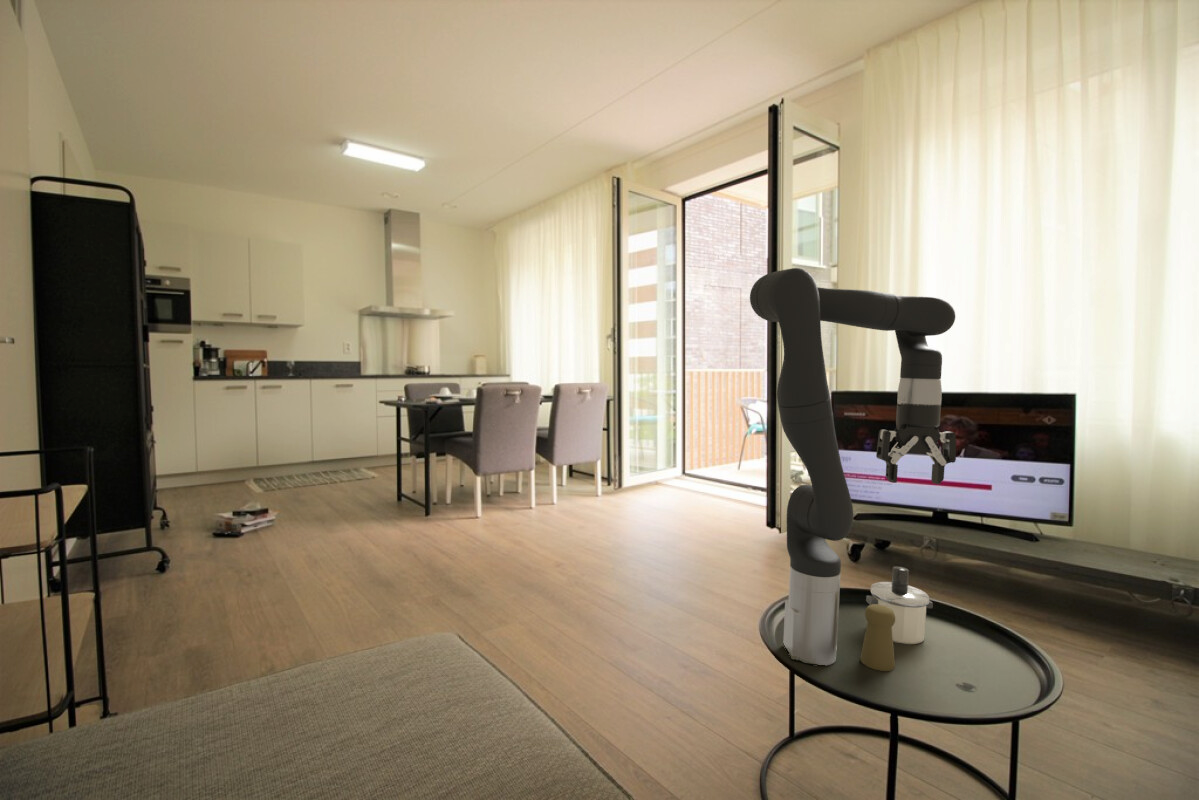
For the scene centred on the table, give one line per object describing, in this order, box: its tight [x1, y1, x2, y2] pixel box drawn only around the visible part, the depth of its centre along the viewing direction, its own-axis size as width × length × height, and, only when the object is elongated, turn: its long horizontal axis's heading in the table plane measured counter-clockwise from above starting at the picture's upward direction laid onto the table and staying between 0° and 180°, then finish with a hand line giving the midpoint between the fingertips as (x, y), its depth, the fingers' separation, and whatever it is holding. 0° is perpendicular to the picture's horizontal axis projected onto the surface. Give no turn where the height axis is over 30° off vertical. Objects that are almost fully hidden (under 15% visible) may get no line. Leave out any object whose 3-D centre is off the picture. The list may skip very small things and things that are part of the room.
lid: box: [870, 566, 930, 607], centre depth 119 cm, size 11×11×6 cm
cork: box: [859, 604, 896, 672], centre depth 107 cm, size 6×6×11 cm
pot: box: [865, 595, 934, 645], centre depth 119 cm, size 13×10×8 cm
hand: (914, 482), depth 110 cm, fingers open, 8 cm apart
